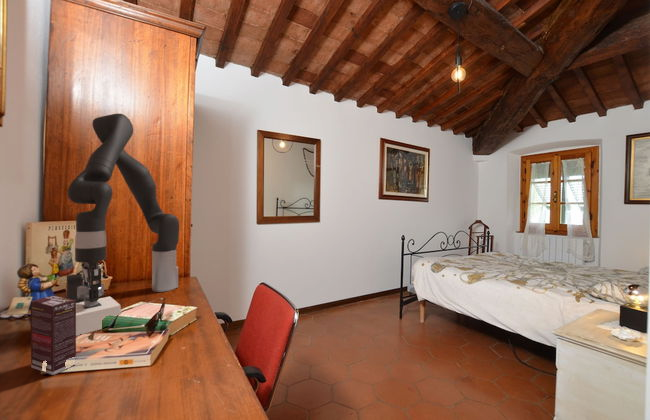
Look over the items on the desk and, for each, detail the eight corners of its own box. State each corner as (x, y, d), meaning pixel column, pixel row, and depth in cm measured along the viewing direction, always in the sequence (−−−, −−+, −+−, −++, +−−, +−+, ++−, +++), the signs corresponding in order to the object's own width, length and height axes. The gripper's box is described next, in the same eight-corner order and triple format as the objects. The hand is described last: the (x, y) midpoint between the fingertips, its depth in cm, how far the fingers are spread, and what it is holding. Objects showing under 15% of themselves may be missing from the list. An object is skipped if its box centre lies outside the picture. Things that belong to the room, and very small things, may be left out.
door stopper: (90, 308, 101) (90, 275, 100) (67, 313, 96) (67, 278, 96) (87, 301, 107) (87, 270, 107) (66, 305, 103) (66, 273, 102)
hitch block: (110, 313, 97) (110, 296, 97) (120, 323, 89) (120, 305, 89) (63, 324, 88) (62, 305, 87) (70, 337, 80) (70, 316, 80)
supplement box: (77, 364, 67) (77, 299, 67) (52, 376, 63) (52, 306, 62) (55, 357, 70) (54, 294, 70) (29, 367, 66) (28, 301, 65)
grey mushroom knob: (101, 307, 93) (101, 281, 92) (106, 312, 89) (106, 286, 88) (75, 312, 88) (75, 286, 87) (79, 318, 84) (79, 290, 83)
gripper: (112, 246, 86) (112, 300, 86) (100, 241, 95) (100, 290, 96) (80, 249, 80) (80, 307, 81) (70, 243, 89) (71, 295, 90)
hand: (91, 298), depth 88 cm, fingers closed on grey mushroom knob, 6 cm apart
